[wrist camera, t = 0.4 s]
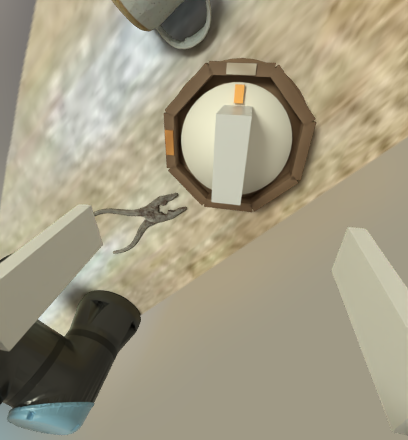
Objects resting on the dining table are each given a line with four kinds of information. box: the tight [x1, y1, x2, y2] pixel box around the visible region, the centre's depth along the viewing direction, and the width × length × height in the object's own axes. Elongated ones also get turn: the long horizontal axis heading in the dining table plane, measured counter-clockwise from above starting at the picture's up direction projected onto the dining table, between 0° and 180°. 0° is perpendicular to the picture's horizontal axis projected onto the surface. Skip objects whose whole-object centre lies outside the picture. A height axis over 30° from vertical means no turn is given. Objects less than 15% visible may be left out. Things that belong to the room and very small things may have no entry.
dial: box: [181, 82, 292, 205], centre depth 27 cm, size 14×14×8 cm
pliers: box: [93, 193, 186, 254], centre depth 41 cm, size 10×1×20 cm
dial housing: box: [164, 58, 316, 212], centre depth 30 cm, size 18×18×4 cm
